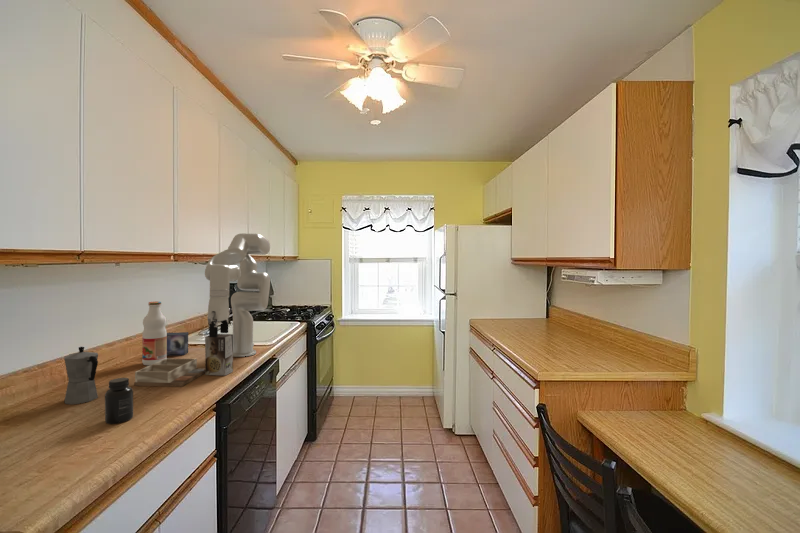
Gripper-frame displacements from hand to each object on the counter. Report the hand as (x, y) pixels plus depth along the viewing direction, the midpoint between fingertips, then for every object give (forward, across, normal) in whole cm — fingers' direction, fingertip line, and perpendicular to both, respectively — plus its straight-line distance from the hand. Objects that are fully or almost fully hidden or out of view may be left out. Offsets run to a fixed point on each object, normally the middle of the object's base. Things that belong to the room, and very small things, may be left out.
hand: (219, 334), depth 161 cm
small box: (+16, -31, -36) cm, 50 cm away
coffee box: (+17, -1, 0) cm, 17 cm away
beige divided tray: (+16, +6, -15) cm, 23 cm away
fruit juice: (+16, -15, -36) cm, 42 cm away
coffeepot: (+17, +31, -31) cm, 47 cm away
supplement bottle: (+18, +46, -8) cm, 50 cm away
